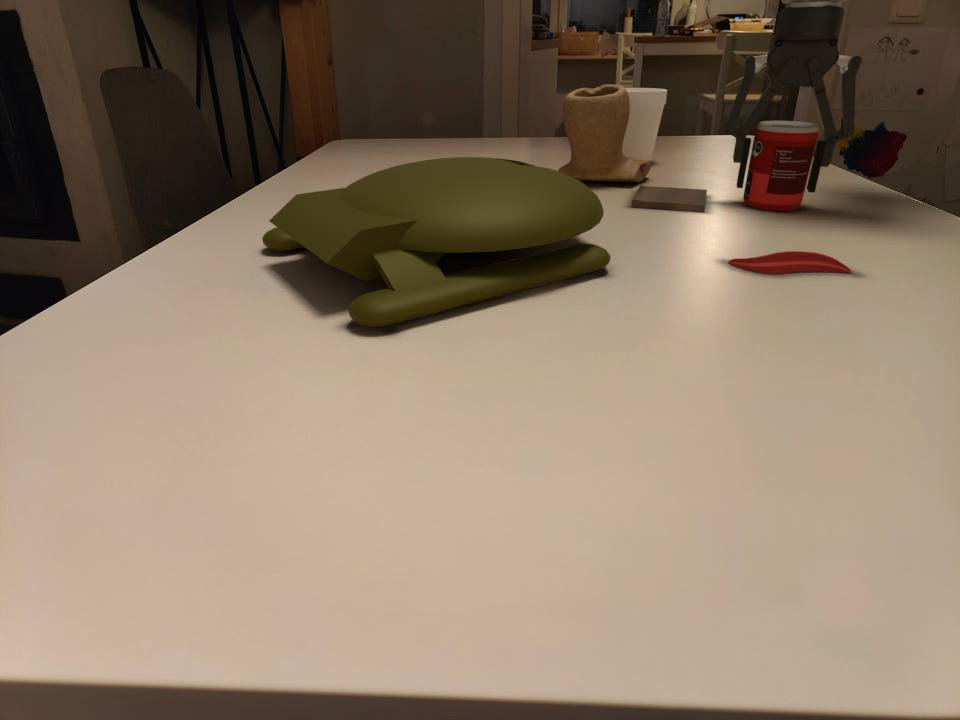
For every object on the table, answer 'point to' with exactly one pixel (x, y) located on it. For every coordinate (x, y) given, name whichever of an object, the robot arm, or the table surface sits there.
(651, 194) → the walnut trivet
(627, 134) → the foam cup
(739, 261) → the cayenne pepper
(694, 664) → the table surface
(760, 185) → the canned food
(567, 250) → the spaceship
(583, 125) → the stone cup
